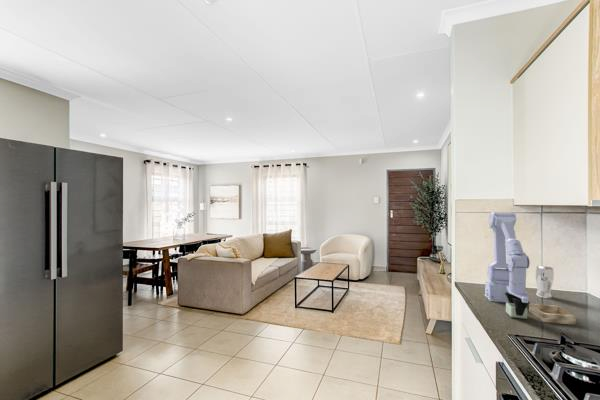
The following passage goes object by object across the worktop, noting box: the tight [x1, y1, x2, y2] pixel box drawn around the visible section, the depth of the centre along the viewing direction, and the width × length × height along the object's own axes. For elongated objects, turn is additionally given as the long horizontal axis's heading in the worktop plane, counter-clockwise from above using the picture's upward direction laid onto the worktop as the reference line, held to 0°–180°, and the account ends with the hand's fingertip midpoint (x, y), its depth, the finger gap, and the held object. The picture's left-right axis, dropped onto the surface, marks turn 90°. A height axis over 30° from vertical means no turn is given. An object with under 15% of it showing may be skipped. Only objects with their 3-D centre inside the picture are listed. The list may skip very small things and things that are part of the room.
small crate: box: [505, 302, 528, 320], centre depth 124 cm, size 6×5×4 cm
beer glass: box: [535, 265, 555, 299], centre depth 146 cm, size 7×7×15 cm
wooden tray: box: [528, 302, 577, 326], centre depth 123 cm, size 12×11×4 cm
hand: (516, 312), depth 124 cm, fingers closed on small crate, 5 cm apart
